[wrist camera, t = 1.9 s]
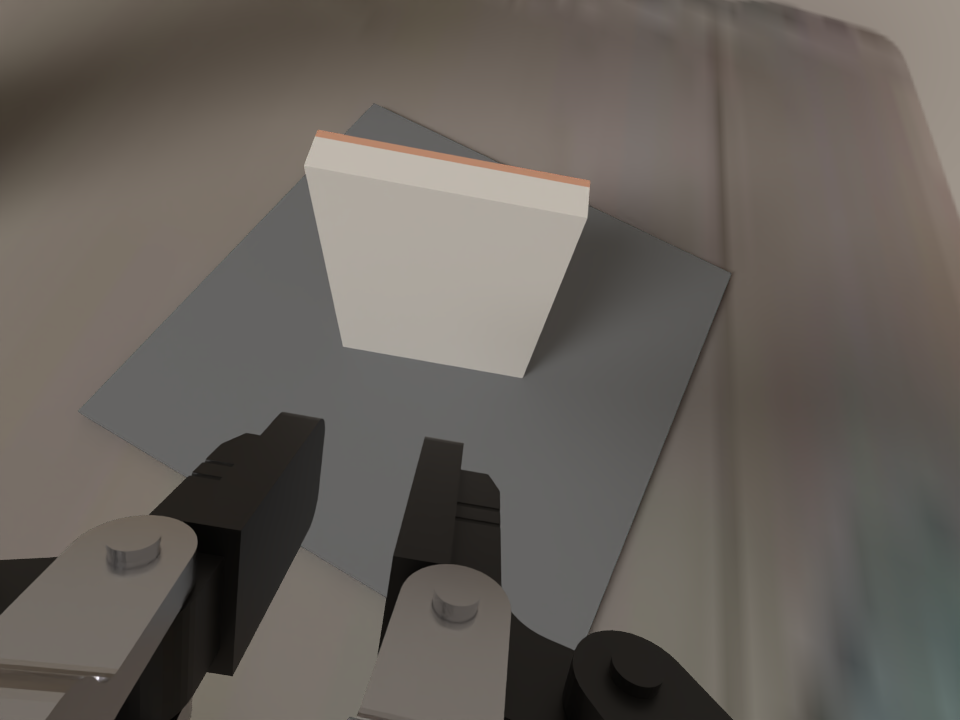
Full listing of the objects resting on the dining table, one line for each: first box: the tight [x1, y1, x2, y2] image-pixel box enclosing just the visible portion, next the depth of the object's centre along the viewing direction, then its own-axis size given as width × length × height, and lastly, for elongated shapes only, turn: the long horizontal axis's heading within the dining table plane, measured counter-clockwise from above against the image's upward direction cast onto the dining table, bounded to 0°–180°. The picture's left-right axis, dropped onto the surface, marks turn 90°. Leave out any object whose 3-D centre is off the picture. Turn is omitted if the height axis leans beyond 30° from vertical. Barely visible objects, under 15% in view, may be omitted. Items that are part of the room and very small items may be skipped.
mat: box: [78, 103, 732, 650], centre depth 30 cm, size 24×24×1 cm
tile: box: [304, 130, 590, 378], centre depth 24 cm, size 2×9×12 cm, turn 81°
